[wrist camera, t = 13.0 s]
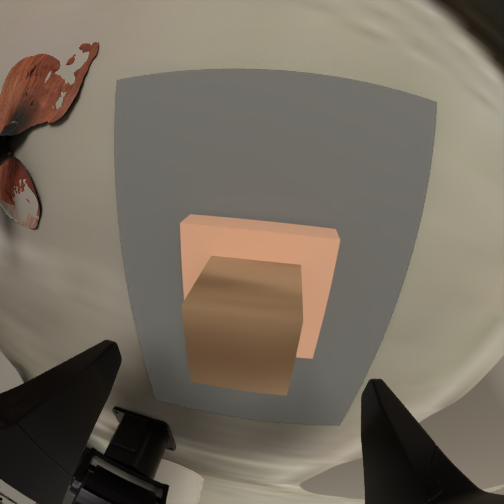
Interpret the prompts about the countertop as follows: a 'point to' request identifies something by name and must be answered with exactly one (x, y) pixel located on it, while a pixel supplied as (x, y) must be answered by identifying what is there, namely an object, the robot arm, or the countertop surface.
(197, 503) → the bottle
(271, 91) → the mat
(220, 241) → the tile
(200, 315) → the cube
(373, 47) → the countertop surface
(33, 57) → the figurine
